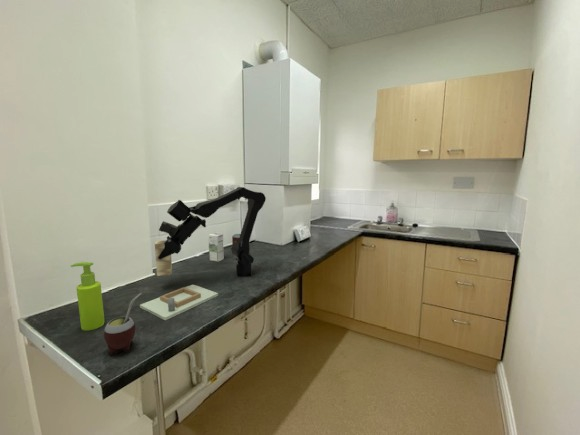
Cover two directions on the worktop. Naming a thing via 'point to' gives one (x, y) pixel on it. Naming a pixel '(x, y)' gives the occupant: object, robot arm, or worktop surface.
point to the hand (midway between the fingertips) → (159, 256)
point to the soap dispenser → (89, 299)
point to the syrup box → (216, 247)
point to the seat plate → (178, 301)
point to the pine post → (162, 260)
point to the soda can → (235, 238)
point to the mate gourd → (120, 332)
